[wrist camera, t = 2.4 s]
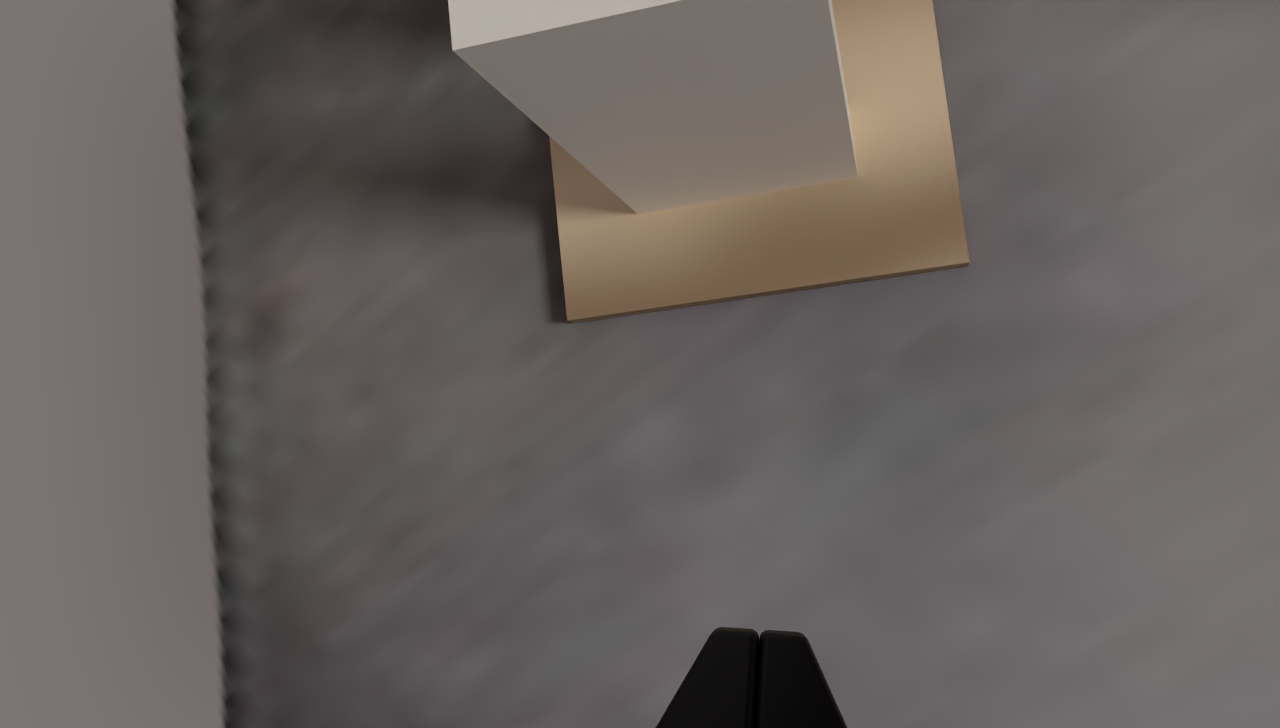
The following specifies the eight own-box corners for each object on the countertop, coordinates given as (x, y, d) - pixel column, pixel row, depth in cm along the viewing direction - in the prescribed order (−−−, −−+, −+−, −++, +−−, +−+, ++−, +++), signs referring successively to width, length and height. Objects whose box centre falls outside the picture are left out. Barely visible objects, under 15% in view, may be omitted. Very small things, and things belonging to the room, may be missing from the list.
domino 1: (857, 177, 22) (823, -31, 13) (637, 214, 23) (452, 50, 14) (848, 106, 22) (807, -151, 13) (630, 147, 24) (442, -61, 14)
